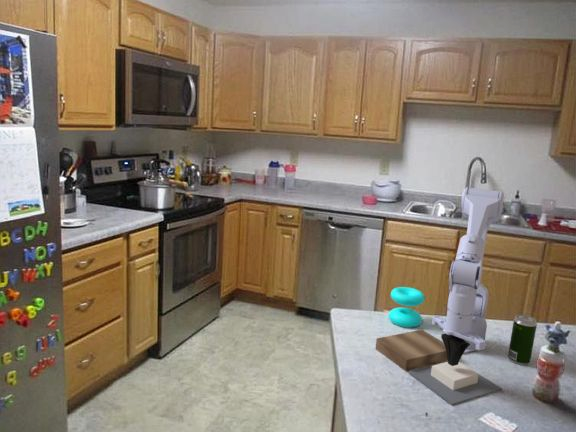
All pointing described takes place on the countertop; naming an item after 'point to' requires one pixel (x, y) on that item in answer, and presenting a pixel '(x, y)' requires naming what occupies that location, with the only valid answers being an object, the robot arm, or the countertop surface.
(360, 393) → the countertop surface
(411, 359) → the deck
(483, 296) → the robot arm
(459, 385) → the tile
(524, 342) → the beer can
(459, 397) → the mat
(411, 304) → the donuts
